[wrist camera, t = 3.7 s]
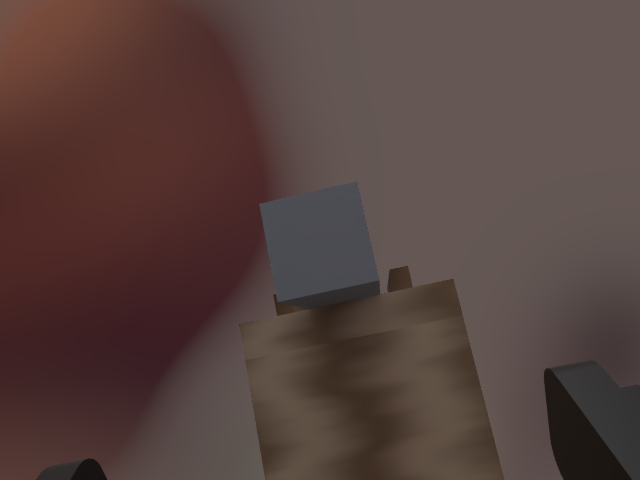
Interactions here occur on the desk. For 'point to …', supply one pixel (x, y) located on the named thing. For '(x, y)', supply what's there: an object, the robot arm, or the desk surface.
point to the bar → (320, 247)
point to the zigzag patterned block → (370, 389)
